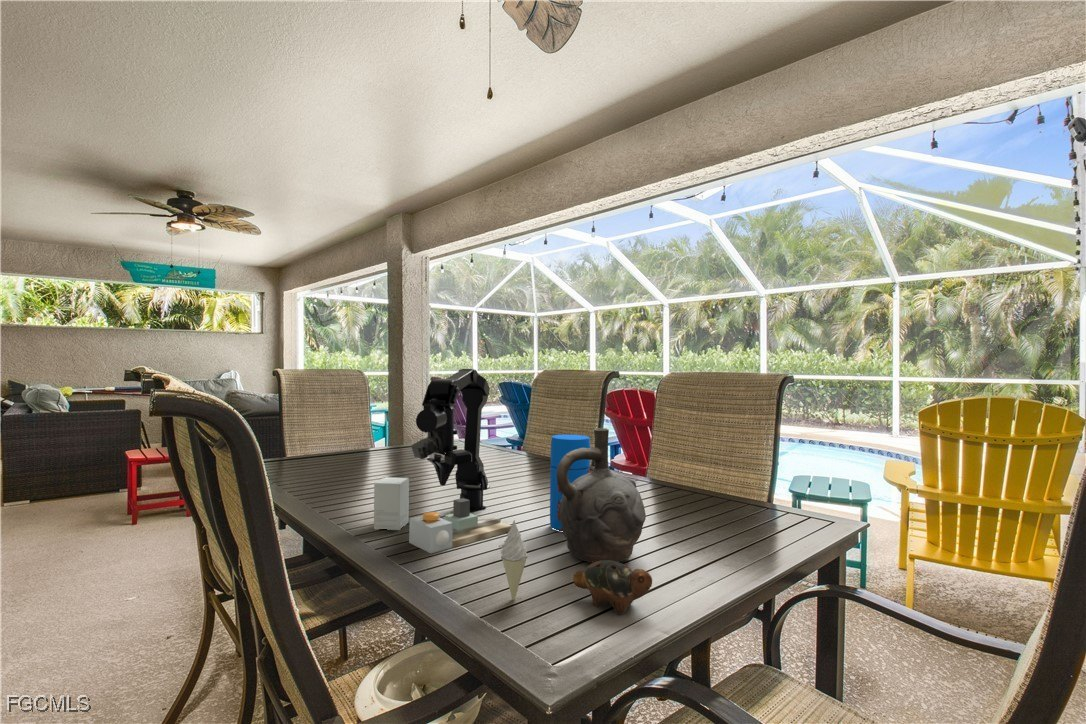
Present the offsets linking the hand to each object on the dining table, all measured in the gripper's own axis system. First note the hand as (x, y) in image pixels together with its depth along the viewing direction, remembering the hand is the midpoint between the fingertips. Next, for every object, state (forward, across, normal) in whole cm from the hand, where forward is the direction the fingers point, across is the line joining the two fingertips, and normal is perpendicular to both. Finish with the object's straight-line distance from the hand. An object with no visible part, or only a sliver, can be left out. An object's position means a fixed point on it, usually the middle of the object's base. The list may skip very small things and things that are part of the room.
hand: (442, 485), depth 137 cm
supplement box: (+12, -13, -8) cm, 20 cm away
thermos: (+13, +20, +28) cm, 37 cm away
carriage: (+9, +7, +1) cm, 12 cm away
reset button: (+8, +7, -8) cm, 14 cm away
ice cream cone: (+11, +43, -12) cm, 46 cm away
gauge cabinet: (+12, +7, -8) cm, 16 cm away
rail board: (+12, +7, +4) cm, 15 cm away
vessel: (+12, +39, +17) cm, 44 cm away
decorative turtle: (+12, +57, 0) cm, 59 cm away
